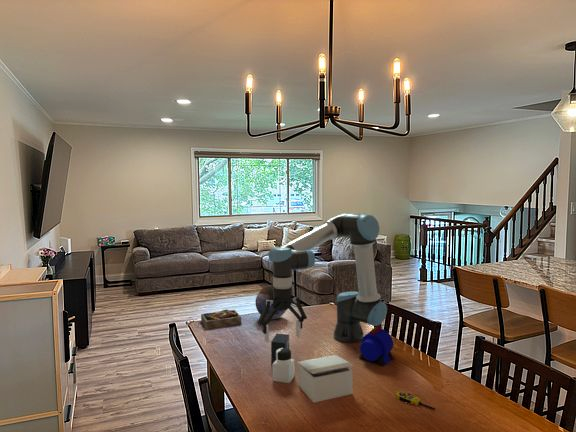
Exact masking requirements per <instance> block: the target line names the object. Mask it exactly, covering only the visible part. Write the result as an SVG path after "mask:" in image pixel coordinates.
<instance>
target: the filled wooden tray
mask: <svg viewBox="0 0 576 432" xmlns="http://www.w3.org/2000/svg"><path fill="white" fill-rule="evenodd" d="M229 310H230V309H229ZM230 311H232V312H235V313H237V317H232V318H225V319H219V320H209V321H207V317H205V316H206V315H209V314H214V313H215V312H216V311H214V312H213V311H212V312H206V313H200V322H202V324H203V327H205V329H214V328H220V327H221V326H222V327H226V326H227V327H228V325H229V326H235V325H241V324H242V316H241V315H240V314H239V312H237V311H236V310H235V309H231V310H230Z"/></svg>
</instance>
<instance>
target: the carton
mask: <svg viewBox="0 0 576 432" xmlns="http://www.w3.org/2000/svg"><path fill="white" fill-rule="evenodd" d="M297 373H298V375H297V376H298V377H297V378H298V382H297V383H298V387H299V388H300V389H301V391H303V393H304V394H305V395H306V396H307V397H308V399H309V400H310V401H311V402H312V403H318V402H322V401H328V400H331V399H335V398H340V397H346V396H349V395H353V370H352V369H351V368H350V367H346V368H341V369H336V370H331V371H325V372H320V373H315V374H312V373H311V372H309V371H308V370H306V369H305V368H303V367H302V366H300V365H299V364H298V363H297Z"/></svg>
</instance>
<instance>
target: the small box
mask: <svg viewBox="0 0 576 432" xmlns="http://www.w3.org/2000/svg"><path fill="white" fill-rule="evenodd" d="M280 348H288V349H290V334H286V333H276V334H275V335H274V336H273V338H272V340H271V341H270V355H271V356H270V357H271V358H270V364H271V365H273V363H274V362H275V361H276V351H277V350H278V349H280Z"/></svg>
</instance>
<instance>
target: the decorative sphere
mask: <svg viewBox="0 0 576 432" xmlns="http://www.w3.org/2000/svg"><path fill="white" fill-rule="evenodd" d="M273 288H274V286H273V284H267V285H265V286H263V287H262V288H260V289H259V291H258V292H257V294H256V297H255V308H256V310H257V312H258V313H259V315H261V313H262V311H263V309H264V306H265V301H266V300H273ZM273 306H274V305H273V304H271V306H270V308H269V310H268V313H267V315H268V314H269V312H270V311H271V310H272V307H273ZM286 311H287V310H282V311H279V310H278V311H277V312H276V313H275V315H274V316H273V317H272V319H271V320H272V321H273V320H277V319H279V318H281V317H282V316H283V315H284V314H285V313H286ZM267 315H266V316H267ZM265 318H266V317H265ZM271 320H270V321H271Z"/></svg>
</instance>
